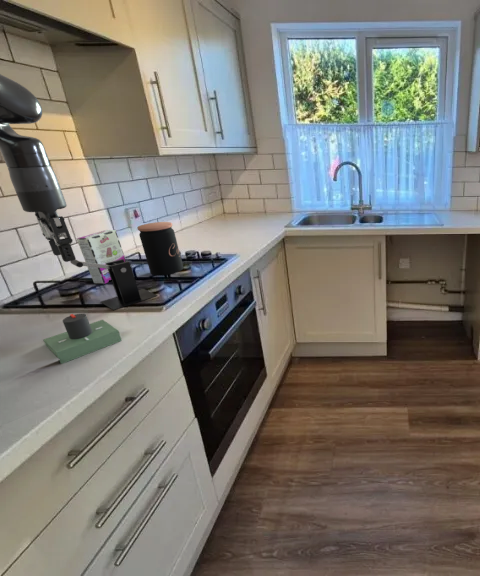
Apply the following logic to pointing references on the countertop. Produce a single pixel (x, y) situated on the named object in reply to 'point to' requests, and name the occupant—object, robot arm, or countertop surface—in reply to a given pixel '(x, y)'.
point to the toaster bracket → (125, 286)
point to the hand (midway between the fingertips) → (64, 257)
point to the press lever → (91, 264)
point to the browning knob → (77, 326)
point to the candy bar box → (101, 253)
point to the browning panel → (83, 342)
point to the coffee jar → (160, 248)
